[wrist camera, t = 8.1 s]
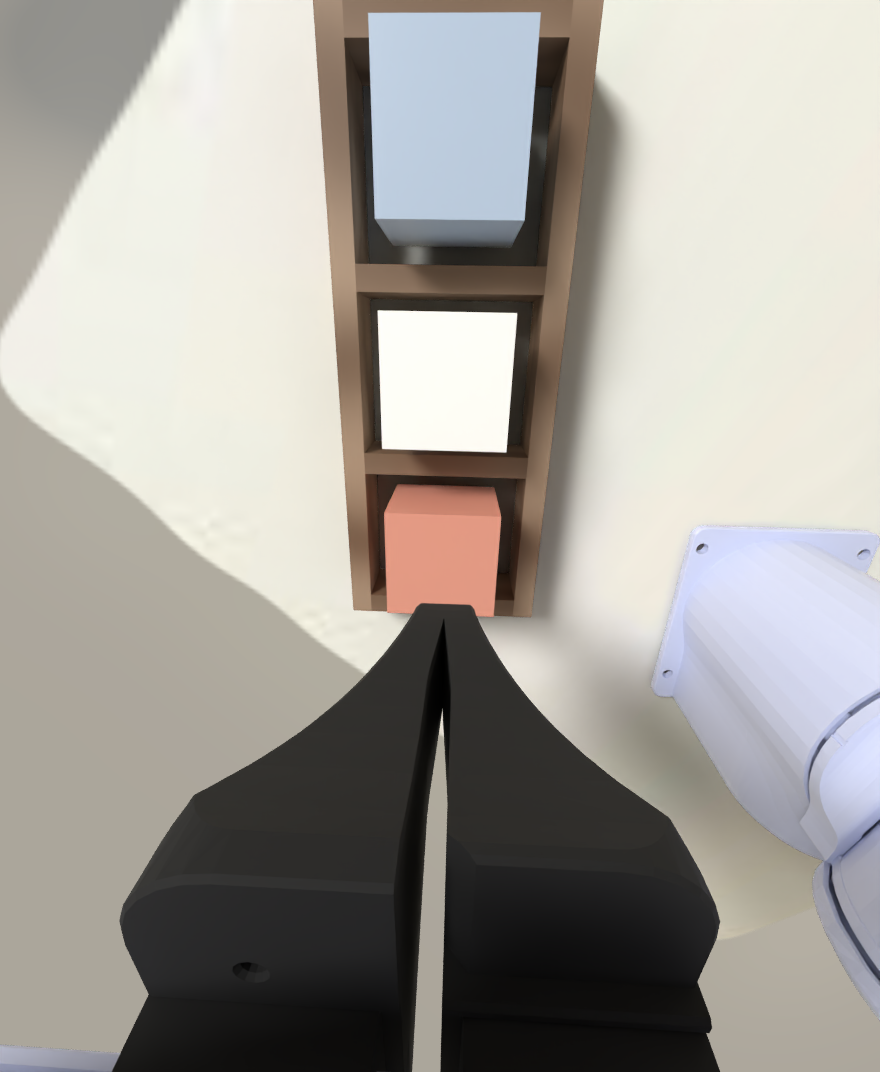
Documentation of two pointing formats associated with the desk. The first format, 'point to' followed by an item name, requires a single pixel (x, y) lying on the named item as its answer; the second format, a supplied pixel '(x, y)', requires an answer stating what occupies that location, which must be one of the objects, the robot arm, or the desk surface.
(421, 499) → the key terracotta
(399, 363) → the key white
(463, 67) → the key blue
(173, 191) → the desk surface
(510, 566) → the frame
